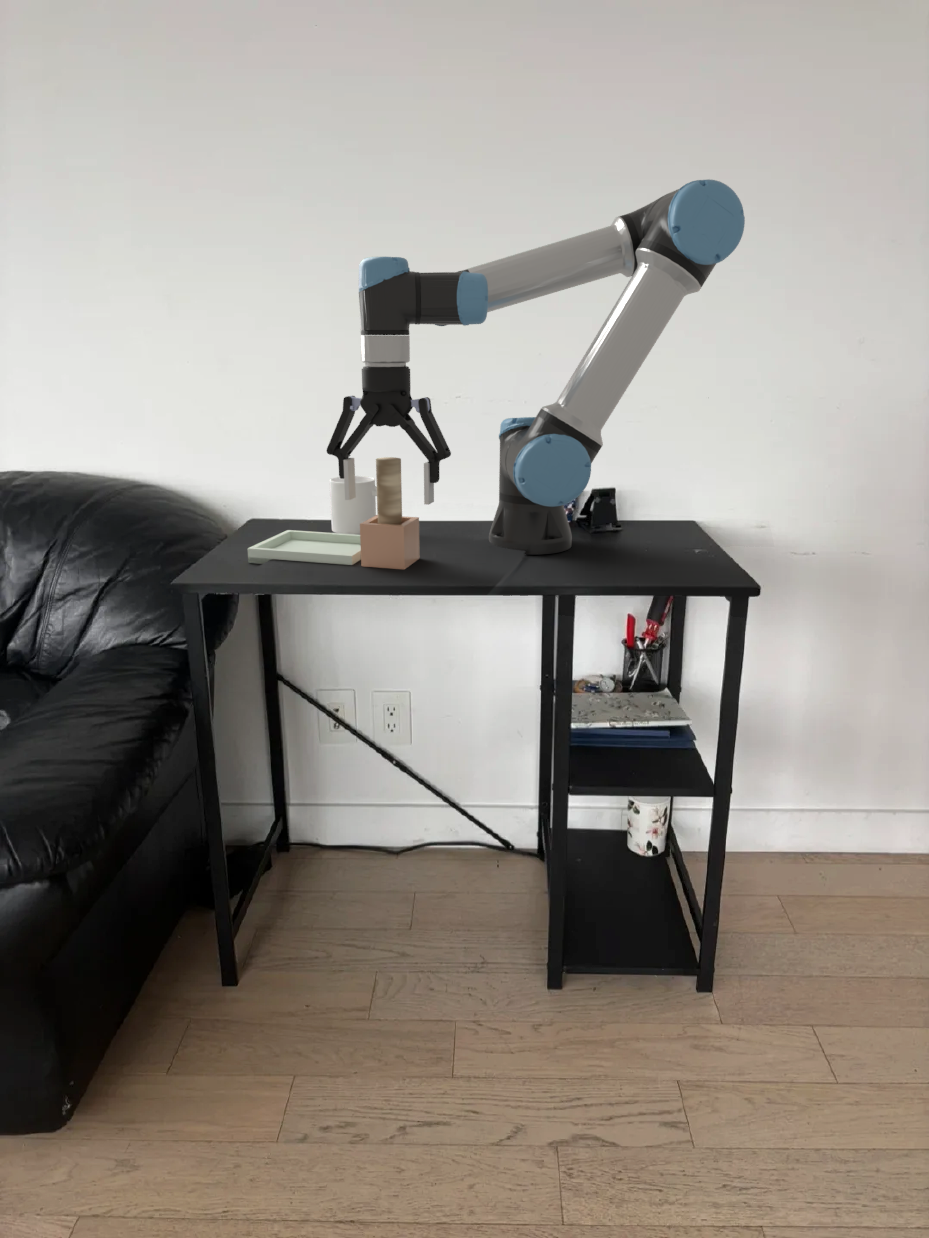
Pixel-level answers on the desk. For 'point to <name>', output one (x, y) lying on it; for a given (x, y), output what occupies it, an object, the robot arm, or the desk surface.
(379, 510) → the dowel
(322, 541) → the tray
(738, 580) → the desk surface
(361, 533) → the planter
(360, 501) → the mug
